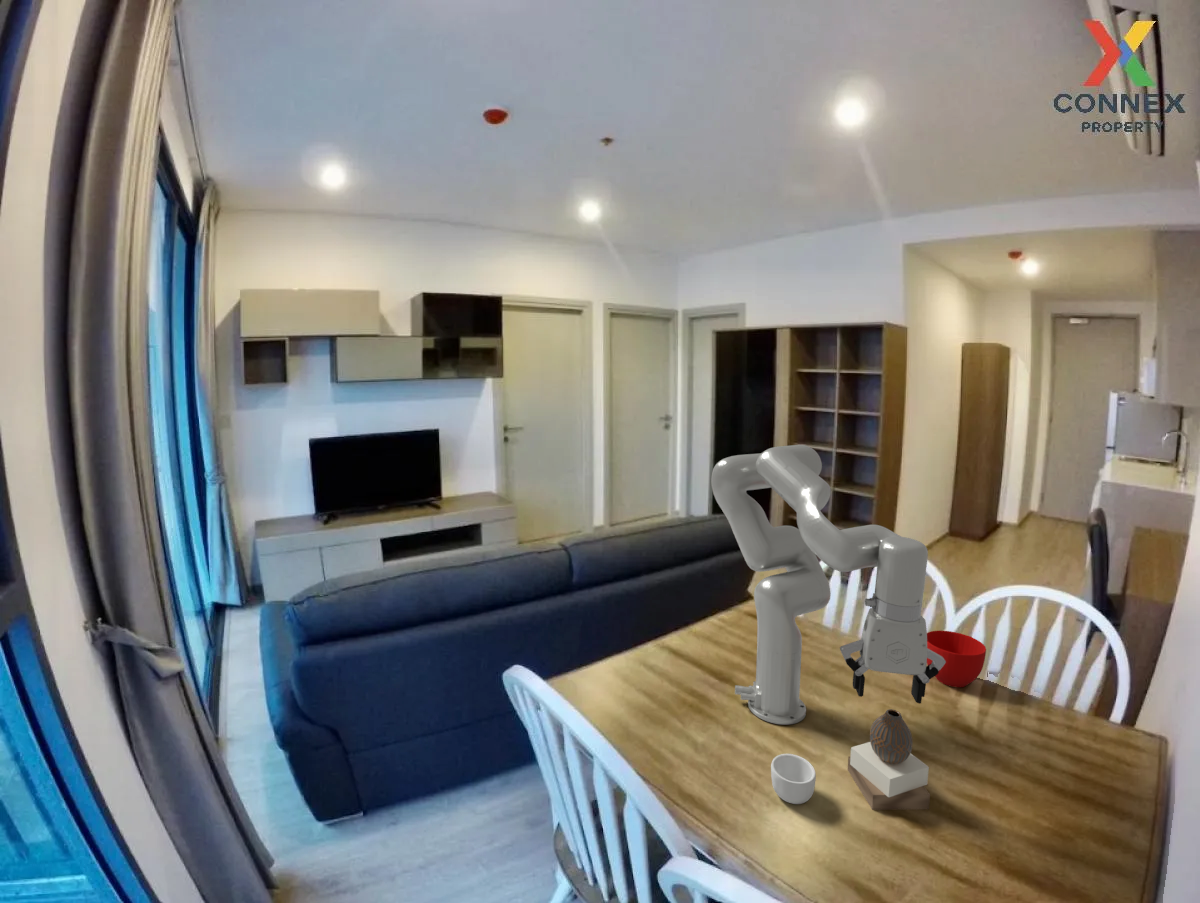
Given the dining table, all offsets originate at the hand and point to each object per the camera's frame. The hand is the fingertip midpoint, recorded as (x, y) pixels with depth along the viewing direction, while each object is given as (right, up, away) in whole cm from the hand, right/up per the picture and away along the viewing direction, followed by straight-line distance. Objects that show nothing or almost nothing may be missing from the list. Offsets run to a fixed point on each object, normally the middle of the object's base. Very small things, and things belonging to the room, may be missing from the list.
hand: (887, 695), depth 104 cm
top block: (+1, -15, +1) cm, 15 cm away
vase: (+1, -12, +1) cm, 12 cm away
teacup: (-17, -18, +1) cm, 25 cm away
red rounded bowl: (+37, -12, +39) cm, 55 cm away
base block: (+1, -19, +2) cm, 19 cm away
